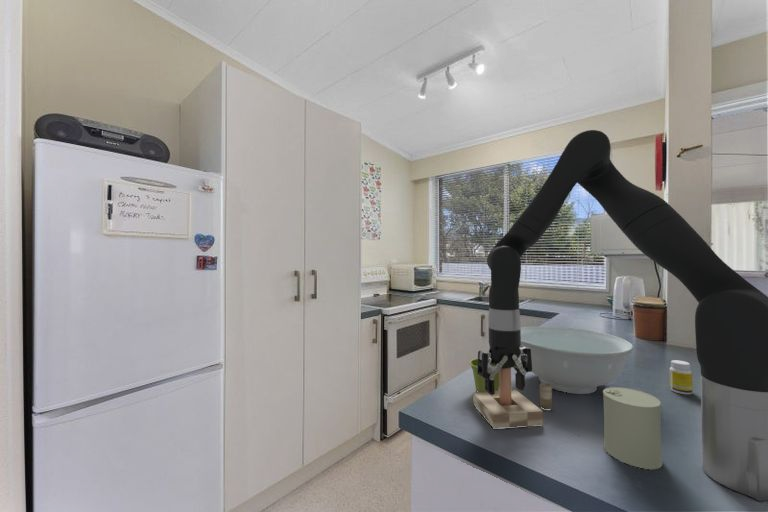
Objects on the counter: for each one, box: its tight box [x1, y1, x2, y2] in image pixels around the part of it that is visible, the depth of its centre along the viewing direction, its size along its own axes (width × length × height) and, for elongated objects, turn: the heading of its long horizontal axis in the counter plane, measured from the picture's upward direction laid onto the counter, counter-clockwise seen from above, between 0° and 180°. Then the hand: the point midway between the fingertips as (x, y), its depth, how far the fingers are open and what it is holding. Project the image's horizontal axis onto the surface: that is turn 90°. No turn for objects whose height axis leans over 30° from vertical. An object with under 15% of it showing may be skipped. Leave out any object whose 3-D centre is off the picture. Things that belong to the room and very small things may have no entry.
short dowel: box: [539, 382, 553, 410], centre depth 82 cm, size 3×3×6 cm
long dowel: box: [499, 367, 512, 406], centre depth 79 cm, size 3×3×12 cm
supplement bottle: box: [669, 359, 693, 395], centre depth 91 cm, size 5×5×8 cm
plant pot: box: [469, 358, 499, 392], centre depth 92 cm, size 9×9×9 cm
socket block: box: [472, 389, 544, 428], centre depth 79 cm, size 12×12×4 cm
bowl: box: [518, 326, 634, 395], centre depth 98 cm, size 32×32×15 cm
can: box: [602, 386, 664, 470], centre depth 63 cm, size 9×9×12 cm
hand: (505, 391), depth 79 cm, fingers open, 8 cm apart
